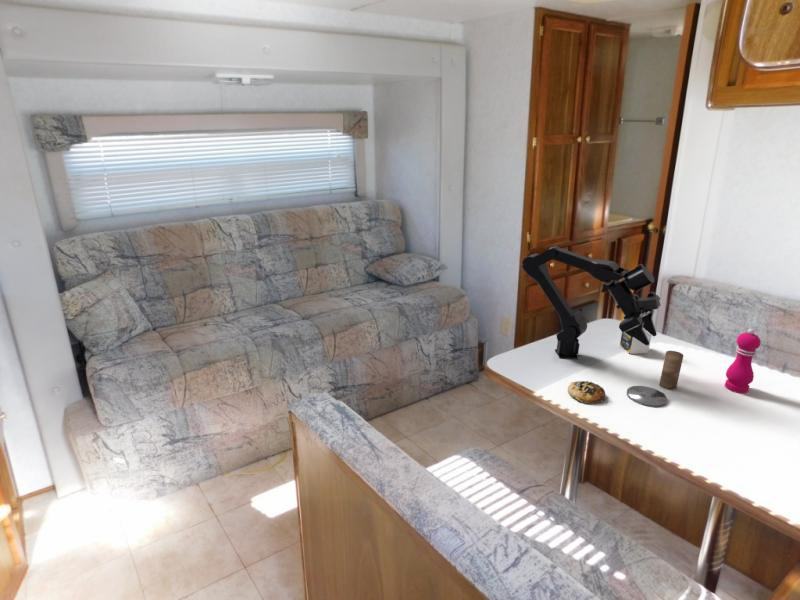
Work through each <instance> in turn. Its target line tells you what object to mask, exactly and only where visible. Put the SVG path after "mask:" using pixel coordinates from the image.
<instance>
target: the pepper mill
mask: <svg viewBox="0 0 800 600" xmlns="http://www.w3.org/2000/svg"><path fill="white" fill-rule="evenodd" d="M755 332H756V331H755V329H754V328H748V329H747V332H742V333H740V334H739V335H738V336H737V337H736V344H737V346H736V350H735V351H736V352H737V353H736V357H735V359H734V361H733V362H732V363H731V364H730V366H729V367H728V368H727V370H726V371H725V377H726V378H727V379H725V384H724V387H725V388H726V389H727V390H729V391H731V392H734V393H738V394H747V393H748V392H749V388H750V385H751V383H753V382H754V370H753V367H752V361H753V357H755V356H756V353H757V349H758V348H760V346H761V339H760V337H759V335H757V334H755Z"/></svg>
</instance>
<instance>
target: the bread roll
mask: <svg viewBox="0 0 800 600" xmlns="http://www.w3.org/2000/svg"><path fill="white" fill-rule="evenodd" d="M567 393H568V395H569V396H570V397H572V398H573V399H575V400H576V401H578V402H581V403H583V404H588V405H589V404H591V405H593V404H598V403H600V404H601V403H602V402H604V401H605V398H606V391H605V389H604V388H603V387H602V386H601V385H599V384H597V383H594V382H593V381H588V380H586V381H584V380H578V381H574V382H570V383H569V385H568V387H567Z"/></svg>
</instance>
